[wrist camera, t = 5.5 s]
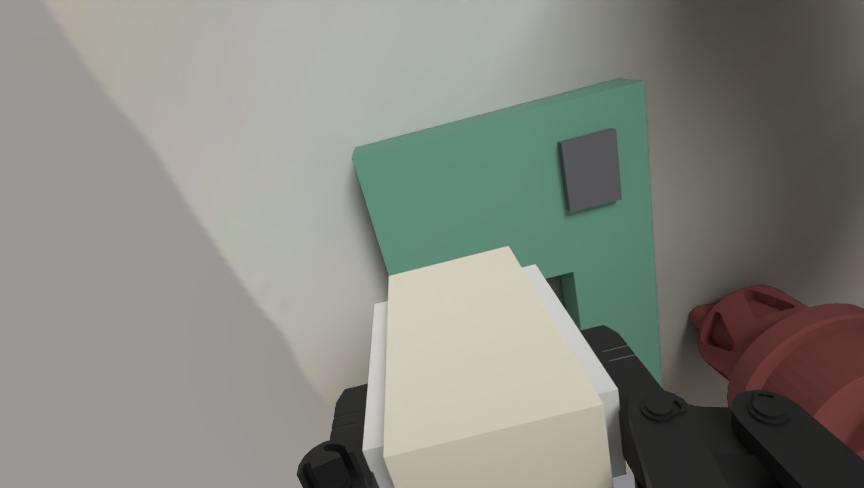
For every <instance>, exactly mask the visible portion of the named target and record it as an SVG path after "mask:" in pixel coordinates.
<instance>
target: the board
mask: <svg viewBox="0 0 864 488" xmlns="http://www.w3.org/2000/svg"><path fill="white" fill-rule="evenodd" d="M352 160H353V163H354V167H355V170H356V173H357V176H358V179H359V183H360V186H361V189H362V192H363V195H364V199H365V202H366V205H367V208H368V211H369V214H370V218H371V221H372V224H373V227H374V230H375V234H376V237H377V240H378V243H379V246H380V249H381V253H382V256H383V259H384V262H385V265H386V269H387V272H388V275H389V276H391V275H395V274H399V273H403V272H407V271H411V270H415V269H419V268H423V267H427V266H431V265H435V264H439V263H442V262H446V261H450V260H454V259H458V258H462V257H466V256H470V255H474V254H478V253H482V252H486V251H490V250H494V249H498V248H502V247H506V246H509V247H510V249H511V251H512V252H513V254H514V256H515V257H516V259H517V261H518V262H519V264H520V266H521V267H526V266H530V265H534V264H536V266H537V267H538V269H539V270H540V272H541V273H542V275H543V276H544V278H545V279H547V278H551V277H555V276H559V275H560V279H561V285H562V292H563V299H564V306H565V310H566V311H567V313H568V314H569V316H570V317H571V319H572V320H573V322H574V323H575V325H576V326H577V328H578V329H579V331H580V330H584V329H589V328H593V327H597V326H601V325H605V326H607V327H609V328H610V329H612V330H614V331H616V332H618V333H619V334H620V336H621V337H622V338H623V339H624V341H625V342H626V343H627V345H628V346H629V347H630V348H631V349H632V351H633V352H634V353H635V356H637V357H638V358H639V360H640V361H641V362H642V363H643V365H644V366H645V367H646V368H647V370H648V371H649V372H650V373H651V375H652V376H653V377H654V378H655V380H656V381H657V382H658V383H659V385H660V386H661V387H662V381H661V363H660V346H659V328H658V310H657V292H656V274H655V256H654V238H653V221H652V203H651V185H650V167H649V149H648V131H647V114H646V96H645V81H642V80H629V79H615V80H611V81H607V82H603V83H600V84H596V85H592V86H588V87H584V88H581V89H577V90H573V91H569V92H565V93H562V94H558V95H554V96H550V97H546V98H543V99H539V100H535V101H531V102H527V103H524V104H520V105H516V106H512V107H508V108H505V109H501V110H497V111H493V112H489V113H485V114H482V115H478V116H474V117H470V118H466V119H463V120H459V121H455V122H451V123H447V124H444V125H440V126H436V127H432V128H428V129H425V130H421V131H417V132H413V133H409V134H406V135H402V136H398V137H394V138H390V139H387V140H383V141H379V142H375V143H371V144H367V145H364V146H360V147H356V148H355V150H354V153H353V155H352Z"/></svg>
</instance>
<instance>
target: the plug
mask: <svg viewBox="0 0 864 488" xmlns="http://www.w3.org/2000/svg"><path fill="white" fill-rule="evenodd" d="M383 458H384V461H385V463H386V466H387V468H388V471H389V473H390V476H391V479H392V481H393V484H394V486H395V488H613V480H612V471H611V463H610V454H609V446H608V437H607V429H606V421H605V412H604V404H603V402H602V401H601V399H600V397H599V396H598V394H597V392H596V391H595V389H594V387H593V386H592V384H591V382H590V381H589V379H588V377H587V376H586V374H585V372H584V371H583V369H582V367H581V366H580V364H579V362H578V361H577V359H576V357H575V356H574V354H573V352H572V351H571V349H570V347H569V346H568V344H567V342H566V341H565V339H564V337H563V336H562V334H561V332H560V331H559V329H558V327H557V326H556V324H555V322H554V321H553V319H552V317H551V316H550V314H549V312H548V311H547V309H546V307H545V306H544V304H543V302H542V301H541V299H540V297H539V296H538V294H537V292H536V291H535V289H534V287H533V286H532V284H531V282H530V281H529V279H528V277H527V276H526V274H525V272H524V271H523V269H522V267H521V266H520V264H519V262H518V261H517V259H516V257H515V256H514V254H513V252H512V251H511V249H510V247H509V246H506V247H502V248H498V249H494V250H490V251H486V252H482V253H478V254H474V255H470V256H466V257H462V258H458V259H454V260H450V261H446V262H442V263H439V264H435V265H431V266H427V267H423V268H419V269H415V270H411V271H407V272H403V273H399V274H395V275H391V276H389V285H388V318H387V352H386V386H385V420H384V454H383Z"/></svg>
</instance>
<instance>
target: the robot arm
mask: <svg viewBox="0 0 864 488" xmlns="http://www.w3.org/2000/svg"><path fill="white" fill-rule="evenodd" d="M522 269H523V271H524V272H525V274H526V276H527V277H528V279H529V281H530V282H531V284H532V286H533V287H534V289H535V291H536V292H537V294H538V296H539V297H540V299H541V301H542V302H543V304H544V306H545V307H546V309H547V311H548V312H549V314H550V316H551V317H552V319H553V321H554V322H555V324H556V326H557V327H558V329H559V331H560V332H561V334H562V336H563V337H564V339H565V341H566V342H567V344H568V346H569V347H570V349H571V351H572V352H573V354H574V356H575V357H576V359H577V361H578V362H579V364H580V366H581V367H582V369H583V371H584V372H585V374H586V376H587V377H588V379H589V381H590V382H591V384H592V386H593V387H594V389H595V391H596V392H597V394H598V396H599V397H600V399H601V401H602V402H603V404H604V412H605V421H606V429H607V437H608V446H609V454H610V463H611V471H612V477H616V476H621V475H625V474H626V464H625V460H626V462H627V463H628V465H629V467H630V469H631V470H632V472H633V474H634V478H635V488H864V460H863V459H862V458H861V457H860V456H858V455H857V454H856V453H855V452H854V451H853V450H851V449H850V448H849V447H848V446H847V445H845V444H844V443H843V442H842V441H841V440H840V439H838V438H837V437H836V436H835V435H834V434H833V433H831V432H830V431H829V430H828V429H827V428H825V427H824V426H823V425H822V424H821V423H820V422H818V421H817V420H816V419H815V418H814V417H812V416H811V415H810V414H809V413H808V412H807V411H805V410H804V409H803V408H802V407H801V406H800V405H798V404H797V403H795V402H794V401H792V400H791V399H789V398H787V397H786V396H783V395H780V394H777V393H774V392H770V391H763V390H751V391H745V392H743V393H740V394H738V395H736V396H735V398H734V399H733V401H732V402H731V408H726V407H700V406H693V405H689V404H687V403H686V402H685V400H683V399H682V398H680V397H679V396H677V395H675V394H673V393H670V392H667V391H664V390H663V388H662V387H661V386H660V385H659V383H658V382H657V381H656V380H655V378H654V377H653V376H652V375H651V373H650V372H649V371H648V370H647V368H646V367H645V366H644V365H643V363H642V362H641V361H640V360H639V358H638V357H637V356H635V353H634V352H633V351H632V349H631V348H630V347H629V346H628V345H627V343H626V342H625V341H624V339H623V338H622V337H621V336H620V334H619V333H618V332H616V331H614V330H612V329H610V328H609V327H607V326H605V325H601V326H597V327H593V328H589V329H584V330H580V331H579V329H578V328H577V326H576V325H575V323H574V322H573V320H572V319H571V317H570V316H569V314H568V313H567V311H566V310H565V308H564V307H563V305H562V304H561V302H560V301H559V299H558V298H557V296H556V295H555V293H554V292H553V290H552V288H551V287H550V285H549V284H548V282H547V281H546V279H545V278H544V276H543V275H542V273H541V272H540V270H539V269H538V267H537V266H536V264H534V265H530V266H526V267H522ZM387 318H388V301H386V302H382V303H378V304H375V307H374V319H373V330H372V342H371V354H370V366H369V378H368V384H365V385H361V386H357V387H353V388H349V389H345V390H344V391H343V393H342V395H341V396H340V398H339V399H338V401H337V403H336V407H335V413H334V420H333V424H332V431H331V436H330V441H326V442H323V443H321V444H319V445H318V446H316V447H314V448H313V449H312V450H311V451H309V452H308V453H307V454H306V455H305V456H304V458H303V459H302V461H301V463H300V464H299V467H298V472H297V476H298V478H299V480H300V482H301V484H302V486H303V488H395V486H394V484H393V481H392V479H391V476H390V473H389V471H388V468H387V466H386V463H385V461H384V458H383V454H384V420H385V386H386V352H387Z"/></svg>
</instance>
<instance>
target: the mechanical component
mask: <svg viewBox="0 0 864 488" xmlns="http://www.w3.org/2000/svg"><path fill="white" fill-rule="evenodd" d="M690 320H691V322H692V323H693V324H694V325H695V326H696V327H698V328H699V329H700V330H699V335H698V347H699V351H700V353H701V355H702V357H703V358H704V359H705V361H706V362H707V363H708V364H709V365H711V366H712V367H713V368H714V369H715V370H716V371H718V372H719V373H720V374H721V375H722V376H724V377H725V378H726V379H727V380H729V381H730V382H729V386H728V393H727V401H728V407H729V408H731V402H732V401H733V399H734V398H735V396H736V395H738V394H740V393H743V392H745V391H751V390H763V391H770V392H774V393H777V394H780V395H783V396H786V397H787V398H789V399H791V400H792V401H794V402H795V403H797V404H798V405H800V406H801V407H802V408H803V409H804V410H805V411H807V412H808V413H809V414H810V415H811V416H812V417H814V418H815V419H816V420H817V421H818V422H820V423H821V424H822V425H823V426H824V427H825V428H827V429H828V430H829V431H830V432H831V433H833V434H834V435H835V436H836V437H837V438H838V439H840V440H841V441H842V442H843V443H844V444H845V445H847V446H848V447H849V448H850V449H851V450H853V451H854V452H855V453H856V454H857V455H858V456H860V457H861V458H862V459H863V460H864V308H861V307H859V306H855V305H850V304H839V303H835V304H824V305H819V306H815V307H811V308H809V307H807V306H806V305H804V304H802V303H801V302H799V301H797V300H796V299H794V298H792V297H790V296H788V295H786V294H785V293H784V292H782V291H780V290H778V289H776V288H773V287H770V286H764V285H760V286H751V287H747V288H743V289H740V290H738V291H735V292H733V293H732V294H730V295H728V296H726V297H725V298H724V299H722V300H721V301H720V302H718V303H717V304H713V305H700V306H698V307H696V308H695V309H694V310H693V311H692V312H691V314H690Z"/></svg>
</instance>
